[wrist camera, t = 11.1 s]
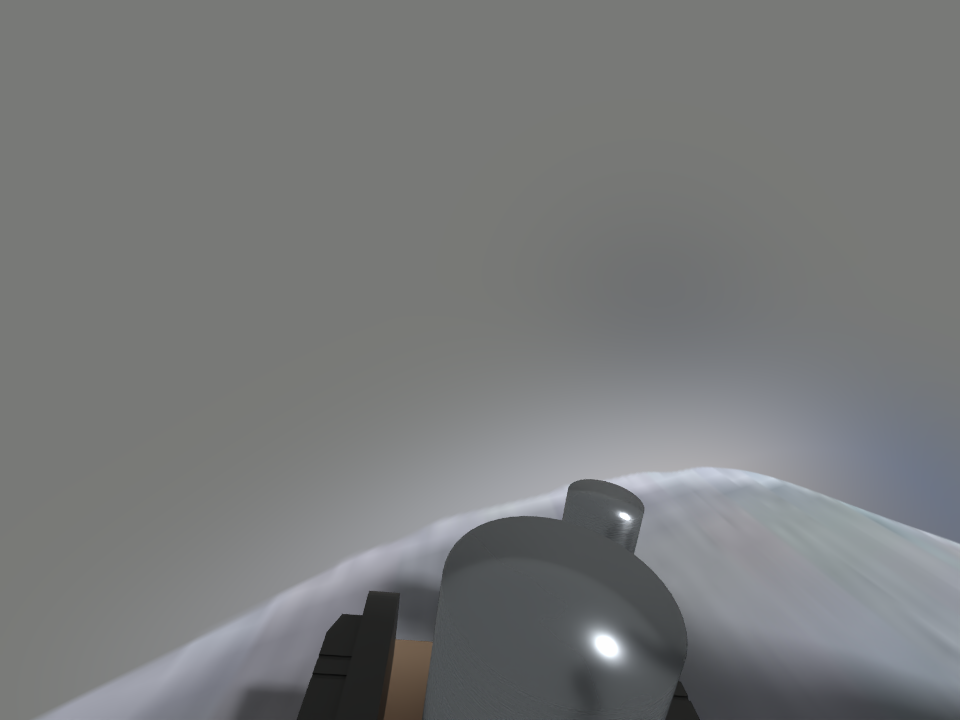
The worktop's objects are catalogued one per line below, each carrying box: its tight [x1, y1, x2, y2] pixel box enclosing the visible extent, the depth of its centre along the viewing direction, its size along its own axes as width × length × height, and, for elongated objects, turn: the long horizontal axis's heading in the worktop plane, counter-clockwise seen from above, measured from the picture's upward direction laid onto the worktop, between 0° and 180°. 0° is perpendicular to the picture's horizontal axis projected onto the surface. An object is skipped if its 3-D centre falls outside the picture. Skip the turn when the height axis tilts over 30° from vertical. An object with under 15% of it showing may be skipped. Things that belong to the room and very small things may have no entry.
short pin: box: [562, 479, 644, 554], centre depth 23 cm, size 4×4×9 cm
